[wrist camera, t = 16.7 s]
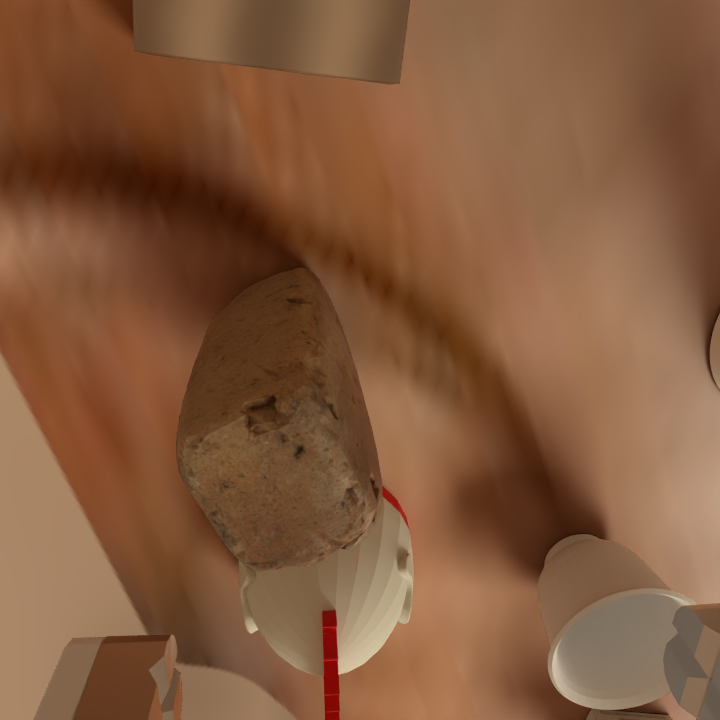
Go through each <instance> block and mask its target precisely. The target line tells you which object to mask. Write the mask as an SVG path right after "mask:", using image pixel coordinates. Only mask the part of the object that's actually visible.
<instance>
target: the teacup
mask: <svg viewBox="0 0 720 720" xmlns="http://www.w3.org/2000/svg"><path fill="white" fill-rule="evenodd" d="M537 593H538V603H539V608H540V612H541V616H542V620H543V623H544V627H545V630H546V634H547V637H548V640H549V644H550V651H549V656H548V671H549V676H550V678H551V681H552V683H553V685H554V686H555V688H556V689H557V690H558V691H559V692H560V693H561V694H562V695H563V696H564V697H565V698H567V699H568V700H570V701H572V702H574V703H576V704H579V705H582V706H585V707H589V708H593V709H601V710H619V709H627V708H632V707H637V706H641V705H644V704H647V703H650V702H652V701H654V700H657V699H659V698H661V697H663V696H664V695H666V694H668V693H669V692H671V691H670V688H669V685H668V683H667V680H666V677H665V671H664V664H663V657H664V652H665V648H666V644H667V643H668V642H669V641H670V640H671V639H672V638H673V637H674V636H675V635H676V634H678V632H677V630H676V629H675V627H674V626H673V624H672V622H673V619H674V615H675V612H676V611H677V610H678V609H679V608H680V607H681V606H686V605H697V604H696V603H695V602H694V601H693V600H691V599H690V598H688V597H687V596H685V595H682V594H680V593H677V592H674V591H672V590H671V589H670V588H669V587H668V586H667V585H666V584H665V583H664V582H663V581H662V580H661V579H660V578H659V577H658V576H657V575H656V574H655V573H654V571H653V570H652V569H651V568H650V567H649V566H648V565H647V564H646V563H645V562H644V561H643V560H642V559H641V558H640V557H639V556H637V555H636V554H635V553H634V552H632V551H631V550H630V549H628V548H627V547H625V546H623V545H621V544H619V543H616V542H613V541H608V540H602V539H599V538H598V537H595V536H593V535H588V534H577V535H572V536H569V537H566V538H564V539H562V540H561V541H559V542H558V543H556V544H555V545H554V546H553V547H552V548H551V549H550V550H549V552H548V553H547V555H546V558H545V561H544V569H543V570H542V572H541V575H540V578H539V581H538V587H537Z"/></svg>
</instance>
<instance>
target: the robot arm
mask: <svg viewBox="0 0 720 720" xmlns="http://www.w3.org/2000/svg"><path fill="white" fill-rule="evenodd" d="M710 365H711V370H712V374H713V377H714V380H715V382H716V384H717V386H718V388H719V389H720V314H719V316H718V318H717V321H716V324H715V326H714V330H713V333H712V338H711V344H710ZM672 624H673V626H674V627H675V629H676V630H677V632H678V634H676V635H675V636H674V637H673V638H672V639H671V640H670V641H669V642H668V643H667V644H666V648H665V652H664V657H663V664H664V671H665V677H666V680H667V683H668V685H669V688H670V691H671V692H672V694H673V696H674V698H675V699H676V701H677V703H678V704H679V706H680V707H682V708H683V709H685V710H686V711H687V712H689V713H690V714H692V715H693V716H694V717H696V720H720V603H716V604H701V605H686V606H681V607H680V608H679V609H678V610H677V611H676V612H675V615H674V619H673V622H672ZM176 656H177V647H176V641H175V636H173V635H138V636H107V637H89V638H72V640H71V641H70V642H69V643H68V644H67V646H66V647H65V648H64V650H63V652H62V655H61V657H60V660H59V662H58V664H57V666H56V669H55V671H54V673H53V676H52V678H51V680H50V682H49V685H48V687H47V690H46V692H45V694H44V696H43V699H42V701H41V703H40V706H39V708H38V710H37V712H36V715H35V717H34V720H181V708H182V681H181V673H180V672H179V671H178V670H177V669H176V668H174V665H175V661H176Z"/></svg>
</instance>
